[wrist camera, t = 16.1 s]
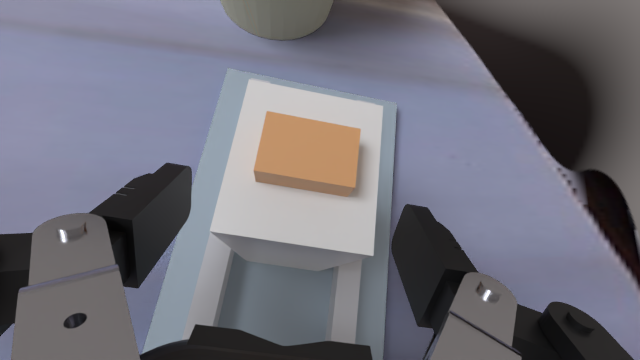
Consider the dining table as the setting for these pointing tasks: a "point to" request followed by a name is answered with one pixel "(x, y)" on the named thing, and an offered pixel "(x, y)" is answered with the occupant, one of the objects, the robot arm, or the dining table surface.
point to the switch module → (301, 179)
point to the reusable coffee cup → (278, 16)
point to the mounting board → (264, 279)
